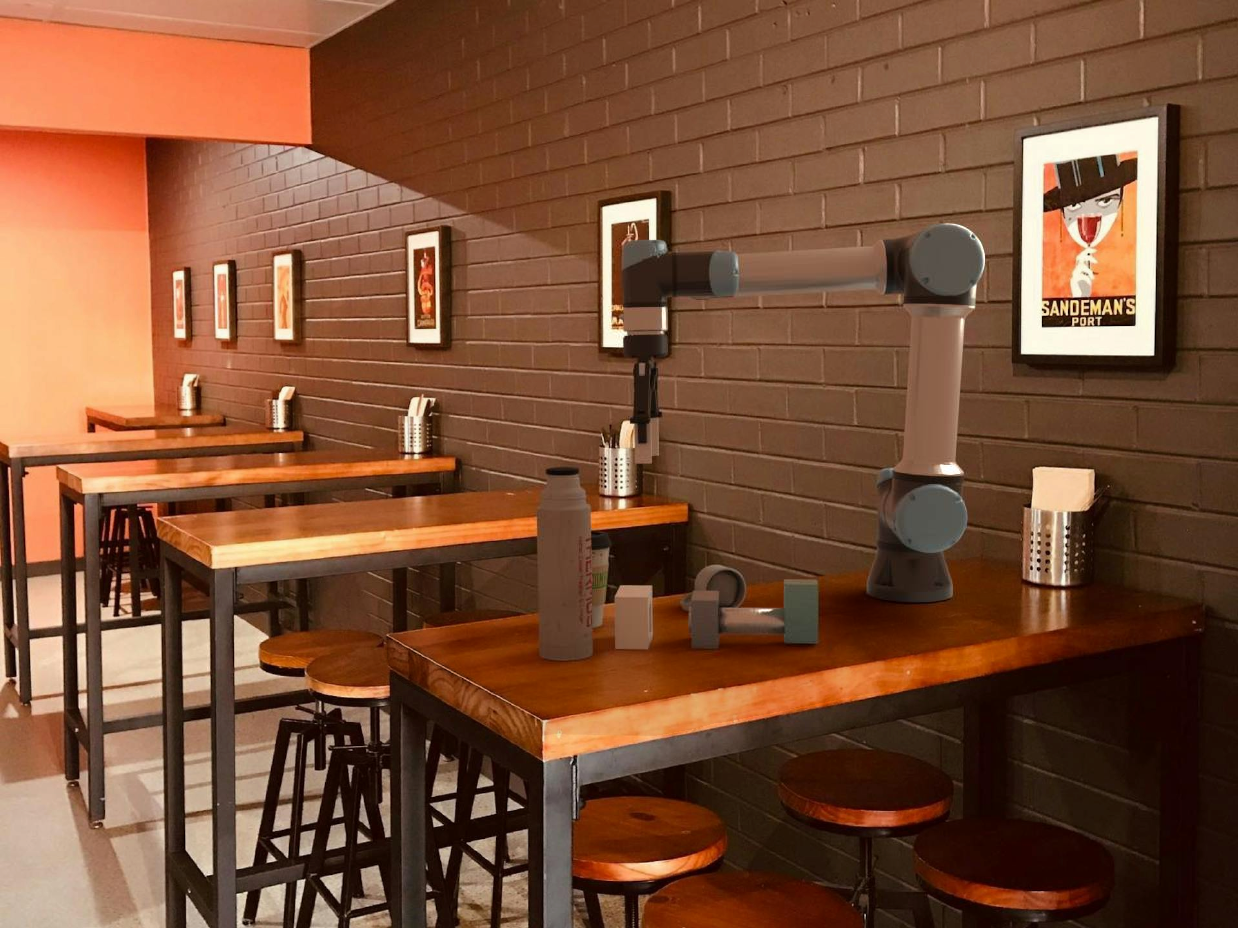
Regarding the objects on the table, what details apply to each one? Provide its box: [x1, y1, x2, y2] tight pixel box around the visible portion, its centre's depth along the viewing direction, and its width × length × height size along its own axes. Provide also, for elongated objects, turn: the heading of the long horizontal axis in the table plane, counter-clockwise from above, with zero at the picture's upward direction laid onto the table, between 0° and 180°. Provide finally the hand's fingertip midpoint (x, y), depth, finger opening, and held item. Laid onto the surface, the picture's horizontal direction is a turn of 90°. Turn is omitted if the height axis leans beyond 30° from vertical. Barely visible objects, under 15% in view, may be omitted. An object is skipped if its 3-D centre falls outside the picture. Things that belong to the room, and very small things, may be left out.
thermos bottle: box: [536, 466, 594, 662], centre depth 188 cm, size 8×8×28 cm
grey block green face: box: [688, 578, 819, 644], centre depth 194 cm, size 20×4×9 cm, turn 84°
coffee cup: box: [591, 529, 613, 629], centre depth 209 cm, size 10×10×15 cm
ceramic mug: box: [679, 564, 747, 612], centre depth 220 cm, size 11×8×8 cm
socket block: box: [614, 584, 654, 650], centre depth 196 cm, size 5×9×8 cm, turn 174°
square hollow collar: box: [690, 590, 720, 650], centre depth 195 cm, size 4×7×7 cm, turn 174°
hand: (647, 459), depth 216 cm, fingers open, 13 cm apart
